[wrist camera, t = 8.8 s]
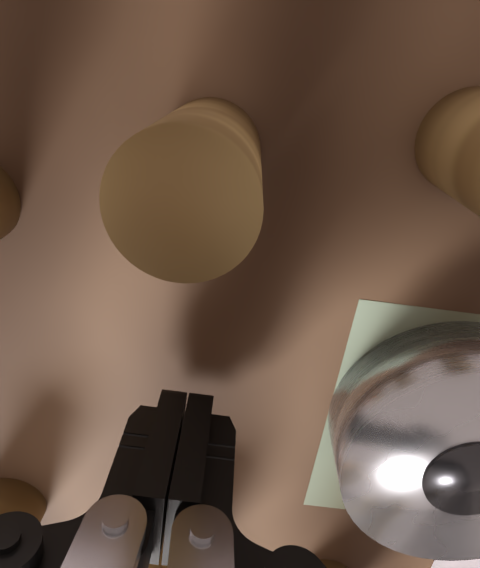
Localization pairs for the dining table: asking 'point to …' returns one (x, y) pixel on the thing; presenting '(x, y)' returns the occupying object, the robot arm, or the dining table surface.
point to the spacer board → (279, 283)
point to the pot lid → (413, 441)
